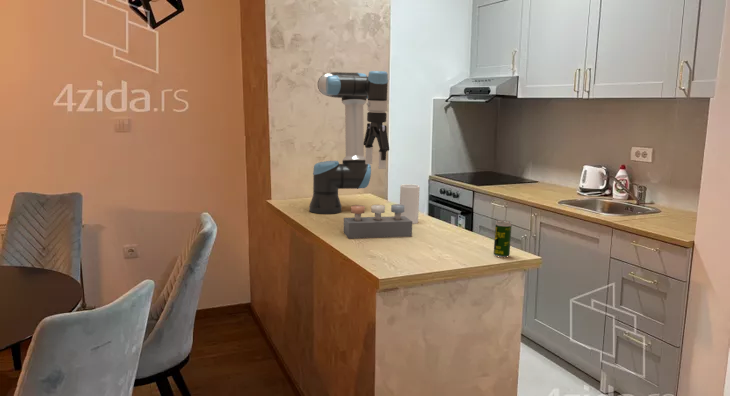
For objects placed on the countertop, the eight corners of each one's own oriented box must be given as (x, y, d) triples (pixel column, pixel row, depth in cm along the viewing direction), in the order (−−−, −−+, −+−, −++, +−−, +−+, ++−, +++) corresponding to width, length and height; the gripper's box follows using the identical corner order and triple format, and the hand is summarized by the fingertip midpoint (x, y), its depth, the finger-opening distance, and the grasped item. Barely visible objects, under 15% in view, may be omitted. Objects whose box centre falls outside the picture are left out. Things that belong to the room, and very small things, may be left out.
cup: (417, 224, 238) (418, 187, 235) (397, 223, 240) (399, 186, 237) (419, 220, 246) (420, 184, 243) (400, 219, 248) (401, 183, 245)
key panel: (343, 232, 220) (343, 217, 219) (404, 230, 226) (404, 216, 225) (348, 238, 210) (348, 223, 209) (411, 236, 216) (412, 221, 215)
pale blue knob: (389, 222, 221) (389, 204, 220) (401, 222, 222) (402, 204, 221) (392, 225, 216) (393, 206, 215) (405, 225, 217) (406, 206, 216)
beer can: (497, 253, 195) (500, 219, 193) (512, 256, 192) (514, 221, 190) (490, 256, 191) (492, 221, 189) (505, 259, 188) (507, 224, 186)
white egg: (369, 223, 219) (370, 204, 218) (382, 222, 221) (382, 204, 219) (372, 226, 214) (373, 207, 213) (385, 225, 216) (386, 207, 214)
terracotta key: (349, 223, 218) (349, 205, 216) (362, 223, 219) (363, 204, 217) (352, 226, 213) (352, 207, 211) (365, 226, 214) (366, 207, 212)
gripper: (356, 110, 226) (355, 162, 230) (380, 113, 204) (379, 171, 208) (373, 110, 229) (371, 161, 233) (399, 113, 206) (397, 170, 211)
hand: (375, 166), depth 221 cm, fingers open, 13 cm apart
